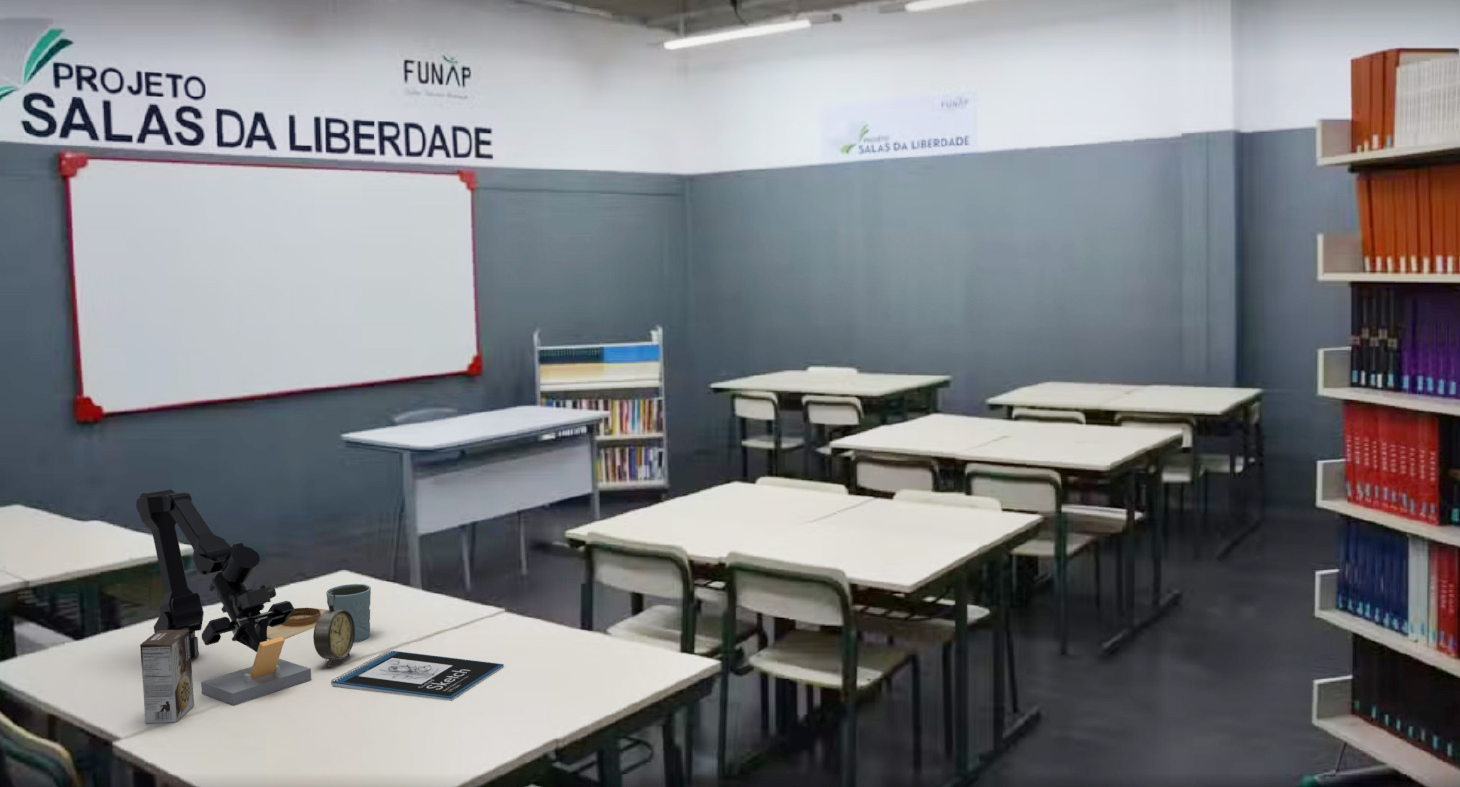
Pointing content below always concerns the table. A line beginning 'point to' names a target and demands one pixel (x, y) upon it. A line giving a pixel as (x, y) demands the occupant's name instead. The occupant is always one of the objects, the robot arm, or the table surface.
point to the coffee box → (167, 676)
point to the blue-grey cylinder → (354, 606)
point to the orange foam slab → (267, 657)
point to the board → (296, 623)
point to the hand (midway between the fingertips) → (266, 655)
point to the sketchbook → (417, 675)
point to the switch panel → (254, 683)
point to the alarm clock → (334, 633)
